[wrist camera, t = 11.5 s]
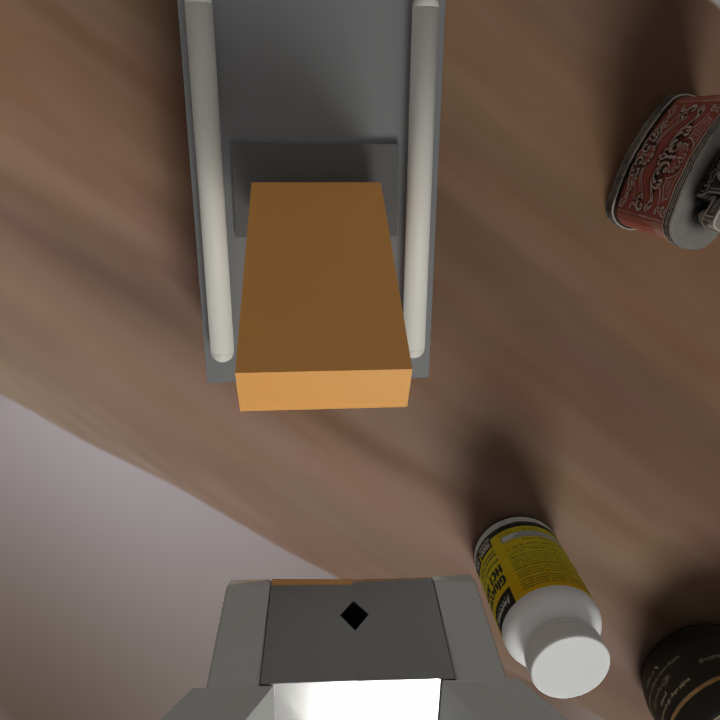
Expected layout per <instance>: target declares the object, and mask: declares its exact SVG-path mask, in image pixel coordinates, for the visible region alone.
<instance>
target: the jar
mask: <svg viewBox="0 0 720 720" xmlns="http://www.w3.org/2000/svg"><path fill="white" fill-rule="evenodd" d="M642 688H643V692H644V696H645V699H646V703H647V706H648V708H649V710H650V712H651V714H652V716H653V718H654V720H720V626H719V625H712V624H702V625H694V626H690V627H686V628H684V629H681V630H679V631H676V632H674V633H673V634H671V635H669V636H668V637H666V638H665V639H664V640H662V641H661V642H660V643H659V644H658V645H657V646H656V647H655V648H654V649H653V650H652V652H651V653H650V655H649V656H648V658H647V660H646V663H645V666H644V669H643V673H642Z"/></svg>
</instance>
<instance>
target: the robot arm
mask: <svg viewBox="0 0 720 720" xmlns="http://www.w3.org/2000/svg"><path fill="white" fill-rule="evenodd" d="M162 720H567V719H566V718H565V717H564V716H563V715H561V714H560V713H559V712H558V711H557V710H556V709H555V708H553V707H552V706H551V705H550V704H549V703H547V702H546V701H545V700H544V699H543V698H542V697H541V696H539V695H538V694H537V693H536V692H535V691H533V690H532V689H531V688H530V687H529V686H528V685H527V684H525V683H524V682H523V681H522V680H521V679H507V678H506V674H505V671H504V668H503V665H502V662H501V659H500V656H499V653H498V650H497V647H496V644H495V640H494V637H493V634H492V631H491V628H490V625H489V622H488V619H487V616H486V613H485V610H484V607H483V603H482V600H481V597H480V594H479V591H478V588H477V585H476V582H475V579H474V578H473V577H472V576H471V575H452V576H431V578H393V579H356V580H352V579H273V580H272V581H271V580H231V581H230V583H229V585H228V586H227V588H226V593H225V597H224V602H223V607H222V613H221V617H220V622H219V627H218V632H217V637H216V641H215V646H214V651H213V656H212V661H211V666H210V671H209V676H208V681H207V686H206V688H193V689H192V690H191V691H190V692H189V693H188V694H187V695H186V696H185V697H184V698H183V699H182V700H181V701H180V702H179V703H178V704H177V705H176V706H175V707H174V708H173V709H172V710H171V711H170V712H169V713H168V714H167V715H166V716H165V717H164V718H163V719H162Z"/></svg>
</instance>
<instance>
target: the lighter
mask: <svg viewBox="0 0 720 720" xmlns="http://www.w3.org/2000/svg"><path fill="white" fill-rule="evenodd" d="M606 214H607V217H608V219H609V220H610V222H611V223H613V224H614V225H616V226H617V227H621V228H624V229H627V230H640V231H643V232H646V233H649V234H652V235H655V236H658V237H661V238H665V239H667V240H668V241H669V242H670V243H672V244H673V245H675V246H678V247H681V248H684V249H688V250H698V249H701V248H703V247H706V246H707V245H708V244H710V243H711V242H712V241H713V240H714V239H715V237H716V236H717V235H718V234H719V233H720V95H710V96H694V95H691V94H676V95H671V96H669V97H667V98H665V99H664V100H663V101H662V102H661V103H660V104H659V106H658V107H657V108H656V110H655V111H654V112H653V113H652V115H651V116H650V117H649V119H648V120H647V121H646V123H645V124H644V125H643V127H642V128H641V130H640V132H639V133H638V135H637V137H636V138H635V140H634V141H633V143H632V145H631V146H630V148H629V150H628V151H627V153H626V155H625V158H624V160H623V162H622V164H621V166H620V168H619V171H618V173H617V175H616V177H615V180H614V183H613V186H612V189H611V192H610V195H609V198H608V201H607V203H606Z"/></svg>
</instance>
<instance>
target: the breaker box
mask: <svg viewBox="0 0 720 720" xmlns="http://www.w3.org/2000/svg"><path fill="white" fill-rule="evenodd" d="M177 3H178V16H179V29H180V42H181V54H182V67H183V80H184V93H185V106H186V118H187V131H188V144H189V157H190V169H191V182H192V195H193V208H194V220H195V233H196V246H197V259H198V272H199V284H200V297H201V310H202V323H203V335H204V348H205V361H206V374H207V383H219V382H236V377H235V367H236V356H237V344H238V333H239V321H240V310H241V298H242V287H243V275H244V263H245V252H246V240H247V229H248V217H249V206H250V194H251V183H252V182H381V186H382V192H383V198H384V204H385V210H386V216H387V221H388V227H389V233H390V239H391V245H392V251H393V257H394V263H395V269H396V275H397V281H398V287H399V293H400V299H401V304H402V310H403V316H404V322H405V328H406V334H407V340H408V346H409V352H410V358H411V364H412V375H411V378H429V358H430V336H431V313H432V291H433V268H434V246H435V224H436V201H437V179H438V156H439V134H440V111H441V89H442V67H443V44H444V22H445V0H177Z"/></svg>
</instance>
